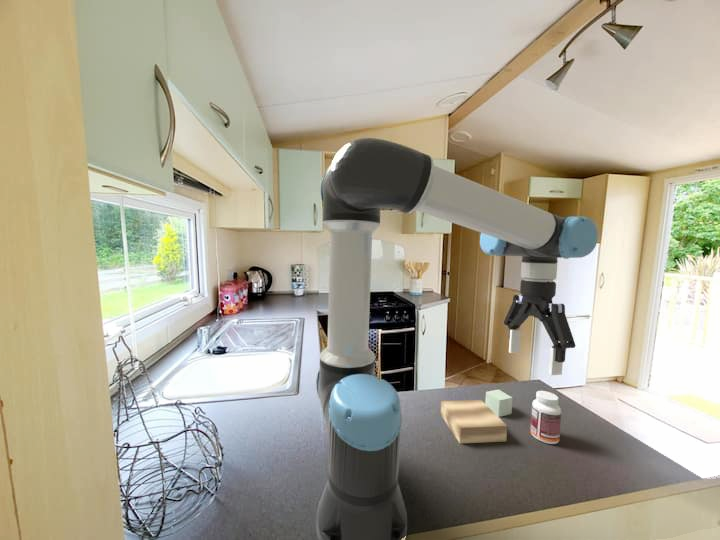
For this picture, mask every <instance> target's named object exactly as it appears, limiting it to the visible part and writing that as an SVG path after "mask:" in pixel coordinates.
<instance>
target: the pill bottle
mask: <svg viewBox="0 0 720 540" xmlns="http://www.w3.org/2000/svg"><path fill="white" fill-rule="evenodd" d="M531 403H532V404H531V415H530V416H531V417H530V419H531V420H530V434H531V436H533V438H535V439H536V440H538V441H539V442H542V443H545V444H549V445H556V444H558V443H559V442H560V436H561V435H560V434H561V433H560V432H561V420H562V409H561V406H560V405H559V397H558V396H557V394H554V393H553V392H550V391H545V390H537V391H536V394H535V399H533V401H532V402H531Z"/></svg>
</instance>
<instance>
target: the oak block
mask: <svg viewBox="0 0 720 540" xmlns="http://www.w3.org/2000/svg"><path fill="white" fill-rule="evenodd" d="M440 402H441V403H440V416H441V417H442V419H443V421H444V422H445V424H446V425H447V427H448V428H449V430H450V431H451V433H452V434H453V436H454V437H455V439H456V440H457V441H458V443H459V444H477V443H496V442H497V443H500V442H507V435H508V425H507V424H506V423H505V422H504V421H503V420H502V419H501V418H500V417H498V416H497V415H496V414H495V413H494V412H493V411H492V410H491V409H490V408H489V407H488V406H487V405H486V404H485V401H483V400H482V399H473V400H471V399H466V400H441V401H440Z"/></svg>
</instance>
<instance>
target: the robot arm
mask: <svg viewBox="0 0 720 540" xmlns="http://www.w3.org/2000/svg"><path fill="white" fill-rule="evenodd" d="M319 189H320V198H321V200H322V224H323V226H325V228H326V229H327V230H328V231H329V260H328V261H329V264H328V265H329V267H328V268H329V273H328V275H329V276H328V302H327V303H328V304H327V305H328V306H327V307H328V308H327V309H328V310H327V312H328V313H327V317H328V318H327V346H326V347H325V348H324V349H323V350H322V351H321V352H320V354H319V369H318V370H317V374H316V380H315V384H316V385H315V387H316V388H315V389H316V391H317V395H318V399H319V402H320V405H321V409H322V413H323V414H322V415H323V418H324V422H325V426H326V430H327V436H328V437H327V438H328V470H327V471H328V473H327V474H328V476H327V481H326V483H325V486H324V489H323V492H322V495H321V497H320V500H319V503H318V506H317V510H316V536H317V540H401V539H402V538H404V537H405V536H406V535H407V533H408V513H407V508H406V505H405V501H404V498H403V495H402V491H401V487H400V484H399V467H400V466H399V465H400V447H401V446H400V445H401V444H400V443H401V428H402V418H403V415H402V409H401V408H402V407H401V406H402V405H401V400H400V399H401V398H400V395H399V394H398V392H397V390H396V389H395V388H394V386H393V384H391V383H390V382H388V381H387V380H385V379H379V377H378V376H376V375H375V369H376V368H375V367H376V355H375V353H374V352H373V351H372V350H371V348H370V347H369V337H370V334H369V332H370V331H369V330H370V312H371V311H370V307H371V306H370V303H371V280H372V279H371V277H372V247H373V233H374V232H375V231H376V230H377V229H378V228H379V227H380V226H381V209H388V210H389V209H390V210H395V211H399V212H400V213H401V212H402V213H404V214H410V213H412V212H414V211H417V212H420V213H423V214H426V215H429V216H432V217H435V218H438V219H441V220H443V221H446V222H449V223H452V224H454V225H455V224H456V225H458V226H460V227H464V228H466V229H469V230H472V231H475V232H477V233H480V236H479V247H480V249H481V250H482V251H483V252H484V254H486V255H487V256H496V257H506V256H507V257H521V266H520V267H521V270H520V277H521V278H522V279H521V280H520V287H519V289H520V290H519V293H520V294H513V296H512V303H511V306H510V307H509V310H508V312H507V313H506V315H505V319H504V321H503V325H505V326H507V328H508V330H509V331H508V341H509V344H508V353H510V354H520V349H521V348H520V347H521V331H522V330H521V326H522V324H523V323H524V322H525V321H526V320H527V319H528V318H529V317H531V316H532V317H534V318H536V319H538V320H539V321H540V322H541V323H542V325H543V326H544V328H545V330H546V332H547V334H548V336H549V339H550V340H551V342H552V344H553V345H552V346H550V349H549V350H550V352H549V365H548V366H549V368H548V374H549V375H550V376H559V375H560V376H561V375H563V363H565V361H566V354H567V353H566V351H567V349H575V347H576V343H575V339H574V337H573V333H572V331H571V328H570V324H569V321H568V318H567V316H566V308H565V307H566V306H565V304H564V303H553V298H554V297H555V296H556V292H557V291H556V290H557V283H556V282H555V280H557V276H558V275H557V272H558V262H559V261H558V259H559V258H560V259H565V260H568V259H573V258H579V259H580V258H584V257H586V256H588V255H590V254H591V253H593V251H594V249H595V248H596V247H597V242H598V239H599V230H598V227H597V224H596V223H595V222H594V221H593V219H591V218H590V217H587V216H582V215H581V216H574V215H571V216H568V217H562V216H558V215H557V214H553V213H552V212H548V211H546V210H543V209H541V208H539V207H536V206H534V205H531V204H529V203H527V202H525V201H522V200H520V199H517V198H514V197H512V196H510V195H508V194H504V193H502V192H500V191H497V190H495V189H493V188H490V187H488V186H486V185H483V184H480V183H478V182H476V181H473V180H471V179H468V178H466V177H464V176H461V175H459V174H456V173H454V172H451V171H449V170H446V169H444V168H442V167H439V166H437V165H435V163H434V160H433V158H432V156H431V155H429V154H426V153H423V152H422V151H419V150H416V149H414V148H411V147H409V146H406V145H403V144H401V143H397V142H393V141H392V140H391V141H390V140H385V139H381V138H376V137H375V138H374V137H361V138H358V139H353V140H351V141H349V142H347V143H346V144H344V145H343V146H342V147H341V148H340V149H339V150H338V151H337V152H336V154H335V155H334V157H333V160H332V161H331V163H330V166H329V167H328V168H327V169H326V170H325V172H324V174H323V176H322V179H321V182H320V187H319ZM406 537H407V536H406Z"/></svg>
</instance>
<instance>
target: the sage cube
mask: <svg viewBox="0 0 720 540" xmlns="http://www.w3.org/2000/svg"><path fill="white" fill-rule="evenodd" d="M484 400H485V401H484V403H485V404H486V405H487V406H488V407H489V408H490V409H491V410H492V411H493V412H494V413H495V414H496V415H497V416H498V417H499V418H500V417H504V416H509V415H512V413H513V412H512V411H513V401H514V400H513V397H512V396H511V395H509V394H507V393H505V392H504V391H502V390H500V389H494V390H489V391H485V399H484Z"/></svg>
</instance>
